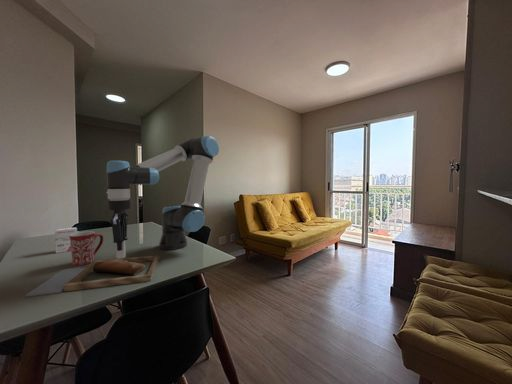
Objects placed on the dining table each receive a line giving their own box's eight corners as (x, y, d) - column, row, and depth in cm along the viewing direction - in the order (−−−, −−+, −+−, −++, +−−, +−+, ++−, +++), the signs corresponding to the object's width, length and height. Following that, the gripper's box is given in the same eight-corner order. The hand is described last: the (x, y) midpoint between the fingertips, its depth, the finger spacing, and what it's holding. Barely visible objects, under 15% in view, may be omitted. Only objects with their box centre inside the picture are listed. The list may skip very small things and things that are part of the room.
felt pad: (89, 268, 86) (89, 267, 86) (61, 292, 67) (61, 290, 67) (62, 271, 83) (62, 269, 83) (25, 296, 64) (25, 295, 64)
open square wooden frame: (159, 259, 98) (159, 255, 98) (150, 280, 76) (150, 275, 76) (94, 265, 90) (94, 261, 90) (63, 291, 68) (63, 285, 68)
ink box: (77, 247, 114) (76, 226, 114) (77, 249, 111) (77, 228, 110) (55, 251, 108) (55, 229, 108) (55, 253, 105) (54, 230, 104)
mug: (75, 268, 86) (74, 236, 86) (65, 264, 91) (65, 234, 90) (108, 258, 98) (108, 231, 97) (98, 255, 102) (98, 229, 101)
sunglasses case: (147, 264, 87) (140, 255, 83) (138, 280, 82) (130, 272, 78) (110, 261, 90) (102, 252, 86) (99, 276, 85) (89, 268, 80)
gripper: (114, 198, 87) (116, 252, 88) (101, 201, 74) (103, 264, 75) (134, 198, 89) (135, 251, 90) (125, 200, 77) (126, 262, 78)
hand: (121, 257), depth 83 cm, fingers closed
